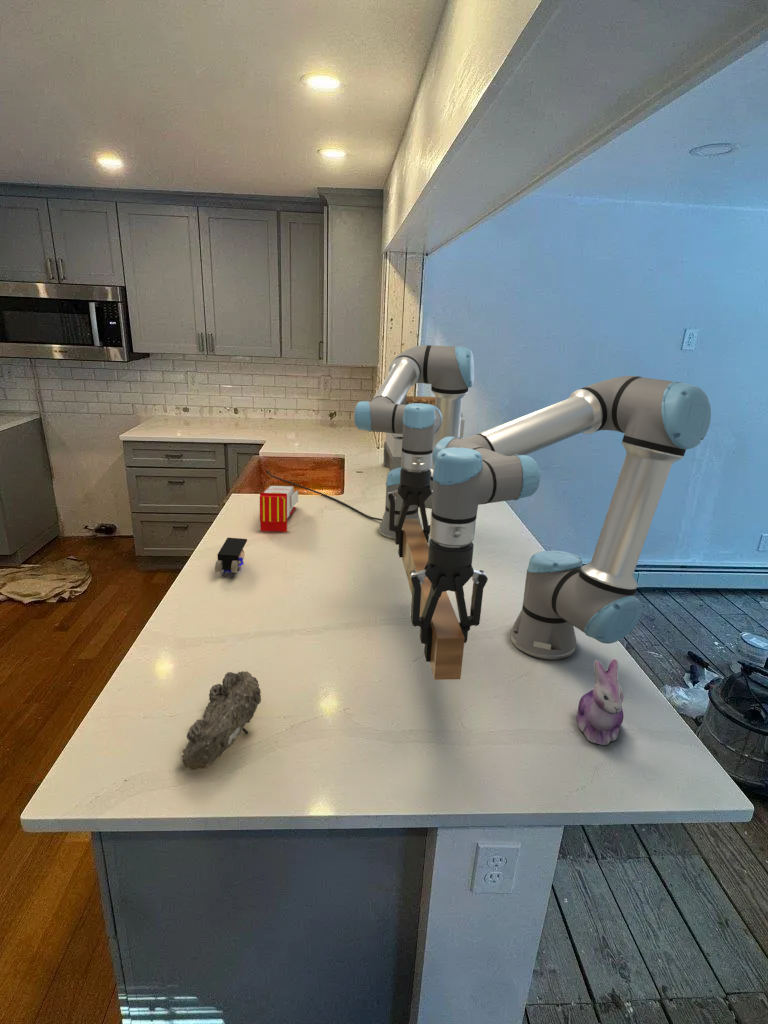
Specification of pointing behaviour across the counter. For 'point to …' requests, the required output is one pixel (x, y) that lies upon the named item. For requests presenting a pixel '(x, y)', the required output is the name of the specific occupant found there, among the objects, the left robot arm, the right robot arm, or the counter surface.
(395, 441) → the grey tall slatted box
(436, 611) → the post
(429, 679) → the counter surface
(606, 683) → the figurine
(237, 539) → the figurine character
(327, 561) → the counter surface
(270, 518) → the toy
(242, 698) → the fossil
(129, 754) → the counter surface
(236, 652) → the counter surface
